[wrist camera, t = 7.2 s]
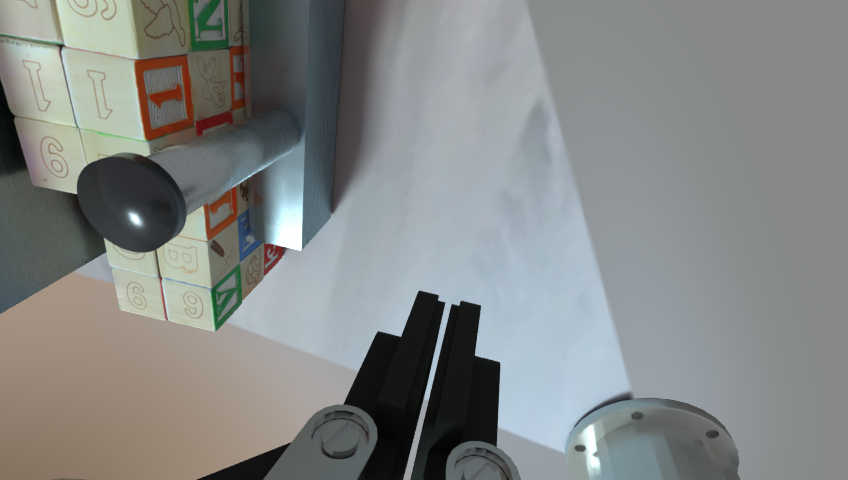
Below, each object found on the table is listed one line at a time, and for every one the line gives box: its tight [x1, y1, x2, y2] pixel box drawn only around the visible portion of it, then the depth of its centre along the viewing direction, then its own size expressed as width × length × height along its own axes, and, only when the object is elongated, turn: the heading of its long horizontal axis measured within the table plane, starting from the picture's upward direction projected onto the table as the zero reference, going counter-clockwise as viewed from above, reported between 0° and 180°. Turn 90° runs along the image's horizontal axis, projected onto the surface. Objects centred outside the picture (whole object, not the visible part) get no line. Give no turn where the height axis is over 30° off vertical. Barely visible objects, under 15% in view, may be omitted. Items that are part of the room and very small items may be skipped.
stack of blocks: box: [0, 0, 282, 332], centre depth 24 cm, size 21×6×12 cm, turn 171°
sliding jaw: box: [77, 0, 345, 253], centre depth 21 cm, size 4×14×16 cm, turn 171°
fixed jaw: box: [0, 79, 107, 314], centre depth 22 cm, size 8×18×16 cm, turn 171°
